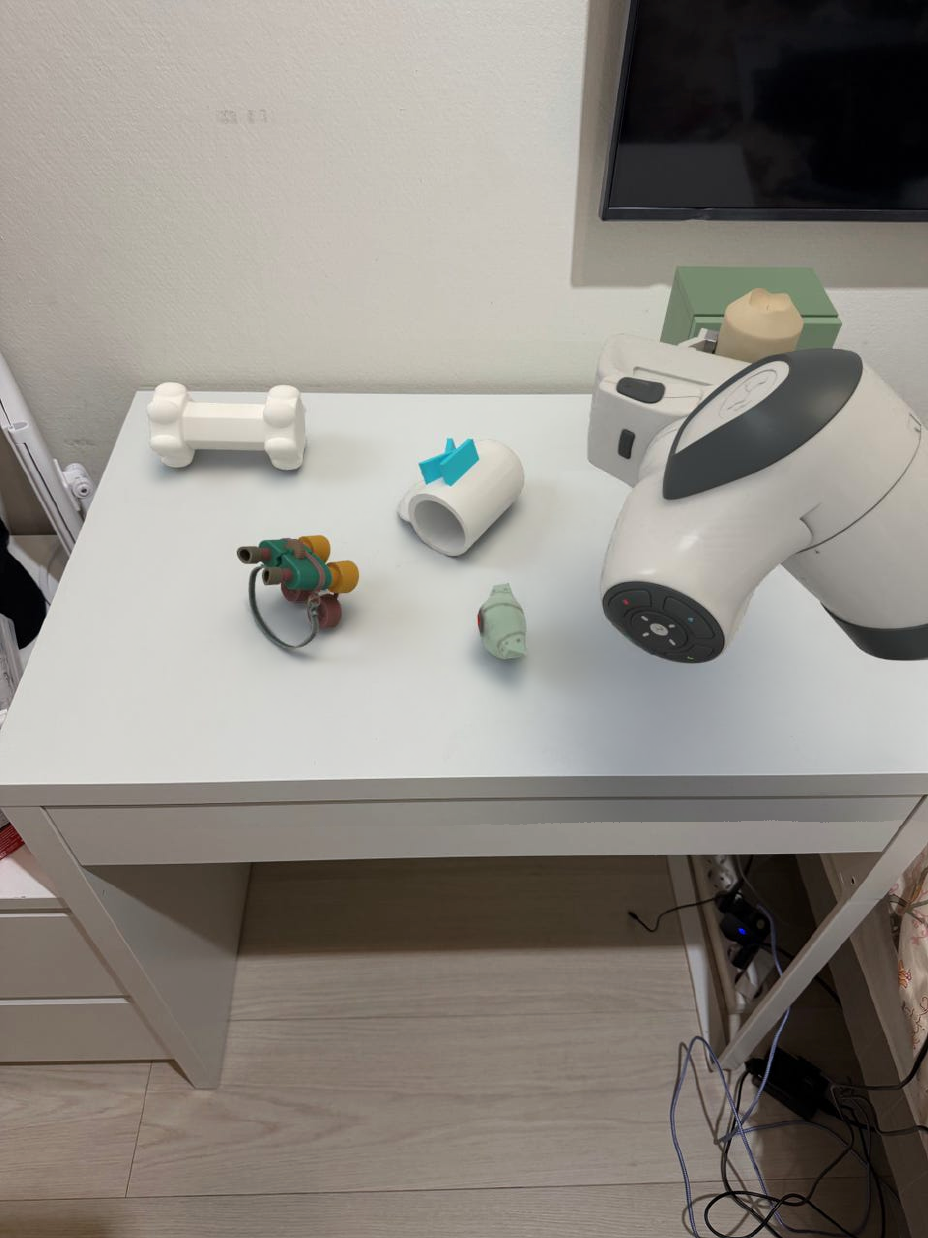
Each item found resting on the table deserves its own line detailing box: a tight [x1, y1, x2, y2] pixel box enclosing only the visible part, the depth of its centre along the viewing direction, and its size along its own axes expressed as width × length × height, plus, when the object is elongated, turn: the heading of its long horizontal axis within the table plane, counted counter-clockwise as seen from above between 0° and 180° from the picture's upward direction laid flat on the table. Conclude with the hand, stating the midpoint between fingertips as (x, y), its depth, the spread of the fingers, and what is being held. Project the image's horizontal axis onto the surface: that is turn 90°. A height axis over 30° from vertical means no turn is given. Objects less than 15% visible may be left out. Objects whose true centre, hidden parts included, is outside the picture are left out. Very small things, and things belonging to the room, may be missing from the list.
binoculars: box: [236, 534, 360, 650], centre depth 73 cm, size 9×9×10 cm
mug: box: [397, 437, 525, 557], centre depth 84 cm, size 12×9×12 cm
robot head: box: [476, 582, 528, 660], centre depth 73 cm, size 8×4×7 cm, turn 9°
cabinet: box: [659, 265, 840, 346], centre depth 90 cm, size 9×14×17 cm, turn 92°
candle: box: [714, 288, 803, 364], centre depth 63 cm, size 6×6×10 cm
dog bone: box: [145, 381, 308, 471], centre depth 88 cm, size 15×9×8 cm, turn 89°
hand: (753, 348), depth 64 cm, fingers closed on candle, 5 cm apart
